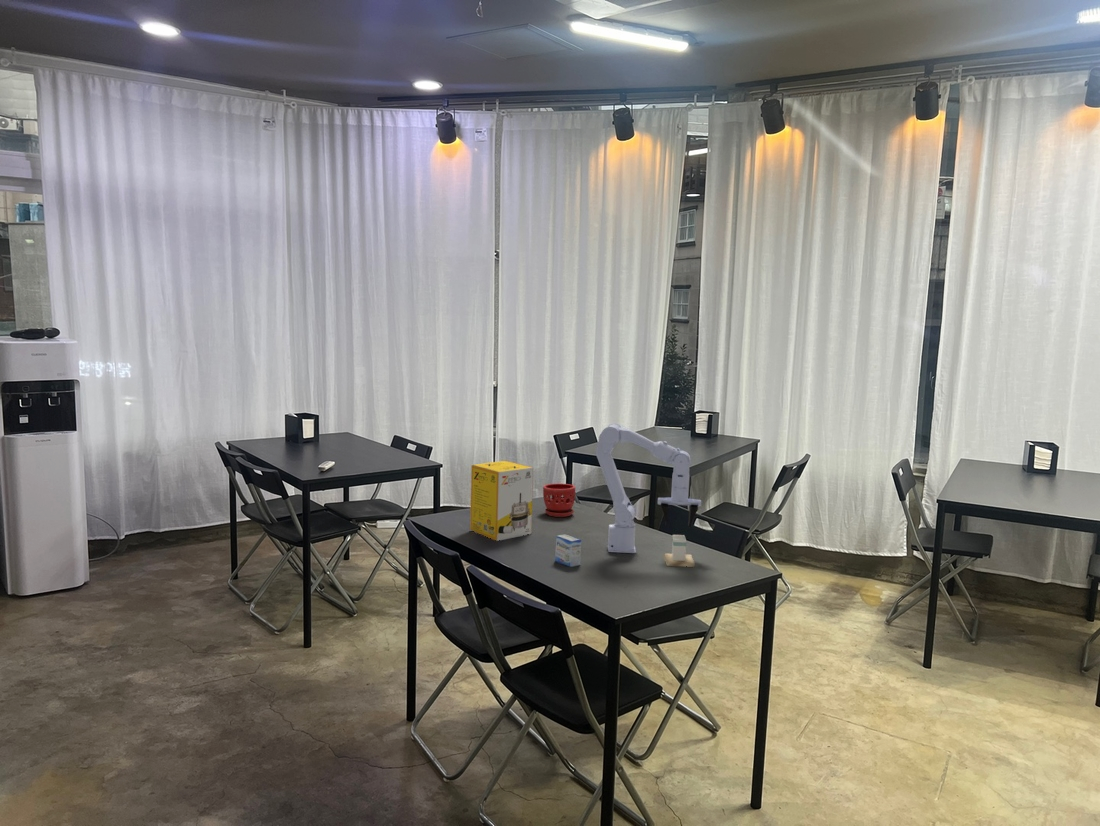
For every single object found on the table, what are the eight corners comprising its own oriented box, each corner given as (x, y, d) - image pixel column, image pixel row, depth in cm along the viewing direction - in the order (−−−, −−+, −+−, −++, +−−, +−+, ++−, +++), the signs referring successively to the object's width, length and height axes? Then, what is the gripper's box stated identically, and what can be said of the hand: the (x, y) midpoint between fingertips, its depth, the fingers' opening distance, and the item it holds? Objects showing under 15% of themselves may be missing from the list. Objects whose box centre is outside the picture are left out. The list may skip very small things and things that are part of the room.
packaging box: (504, 524, 306) (505, 460, 303) (531, 534, 294) (533, 467, 291) (469, 531, 295) (471, 464, 292) (496, 541, 283) (498, 472, 280)
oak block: (666, 567, 261) (667, 561, 261) (664, 559, 270) (664, 553, 270) (694, 568, 261) (694, 562, 261) (690, 560, 270) (691, 554, 269)
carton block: (673, 560, 262) (673, 539, 261) (671, 554, 268) (672, 534, 267) (685, 560, 262) (686, 540, 261) (683, 555, 268) (684, 535, 267)
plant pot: (575, 511, 330) (577, 483, 328) (572, 519, 317) (573, 490, 315) (544, 509, 331) (545, 481, 330) (540, 517, 319) (541, 488, 317)
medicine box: (554, 561, 262) (555, 535, 261) (564, 559, 265) (565, 533, 264) (570, 567, 256) (571, 541, 255) (580, 565, 259) (581, 539, 258)
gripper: (659, 488, 267) (657, 527, 268) (703, 490, 266) (700, 529, 267) (658, 483, 274) (656, 522, 275) (700, 485, 273) (698, 524, 274)
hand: (678, 525), depth 272 cm, fingers open, 7 cm apart
